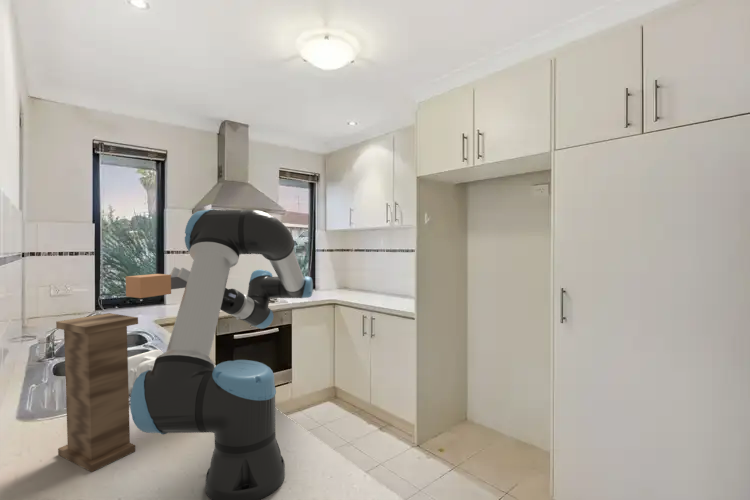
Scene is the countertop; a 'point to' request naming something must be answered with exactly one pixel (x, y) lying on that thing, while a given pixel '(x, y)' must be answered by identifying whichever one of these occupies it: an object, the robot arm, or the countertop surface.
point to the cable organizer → (140, 365)
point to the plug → (152, 285)
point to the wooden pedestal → (96, 389)
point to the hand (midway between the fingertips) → (176, 272)
